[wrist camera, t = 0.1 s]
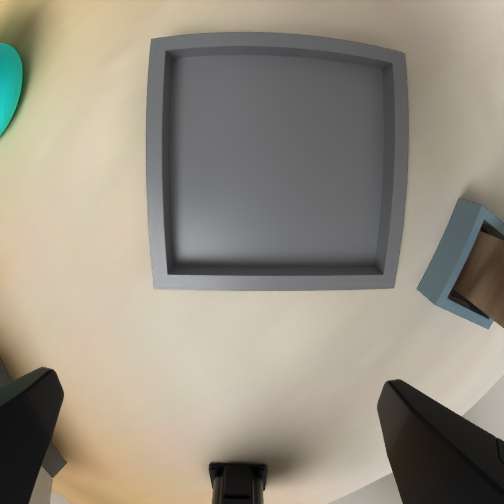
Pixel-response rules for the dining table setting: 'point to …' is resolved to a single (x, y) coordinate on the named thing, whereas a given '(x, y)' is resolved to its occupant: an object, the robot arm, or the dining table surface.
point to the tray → (275, 162)
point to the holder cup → (458, 259)
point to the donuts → (9, 83)
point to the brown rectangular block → (484, 276)
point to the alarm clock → (50, 463)
